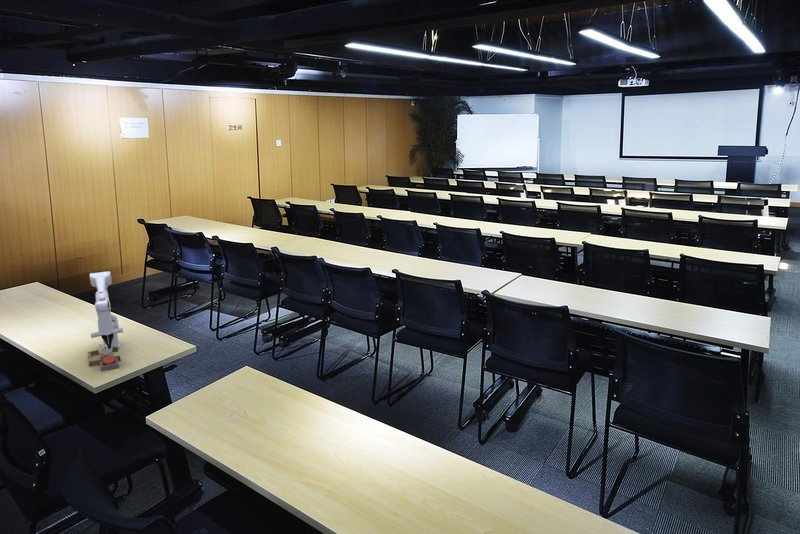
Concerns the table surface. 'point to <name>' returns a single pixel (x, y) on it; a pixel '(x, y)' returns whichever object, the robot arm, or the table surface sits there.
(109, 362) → the dome button
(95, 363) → the corral
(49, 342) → the table surface
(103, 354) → the spiky grey ball
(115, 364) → the button collar
